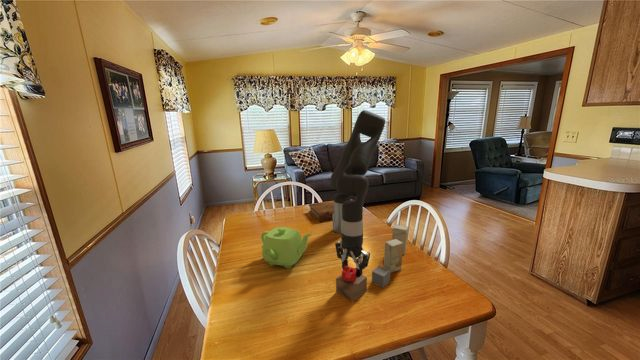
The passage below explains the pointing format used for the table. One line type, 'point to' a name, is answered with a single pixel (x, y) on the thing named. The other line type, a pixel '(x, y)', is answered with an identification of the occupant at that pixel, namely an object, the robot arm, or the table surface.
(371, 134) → the robot arm
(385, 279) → the grey block
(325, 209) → the diary
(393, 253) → the skincare box
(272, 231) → the teapot
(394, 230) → the beige stone tall block
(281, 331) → the table surface
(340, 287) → the walnut block
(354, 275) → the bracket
